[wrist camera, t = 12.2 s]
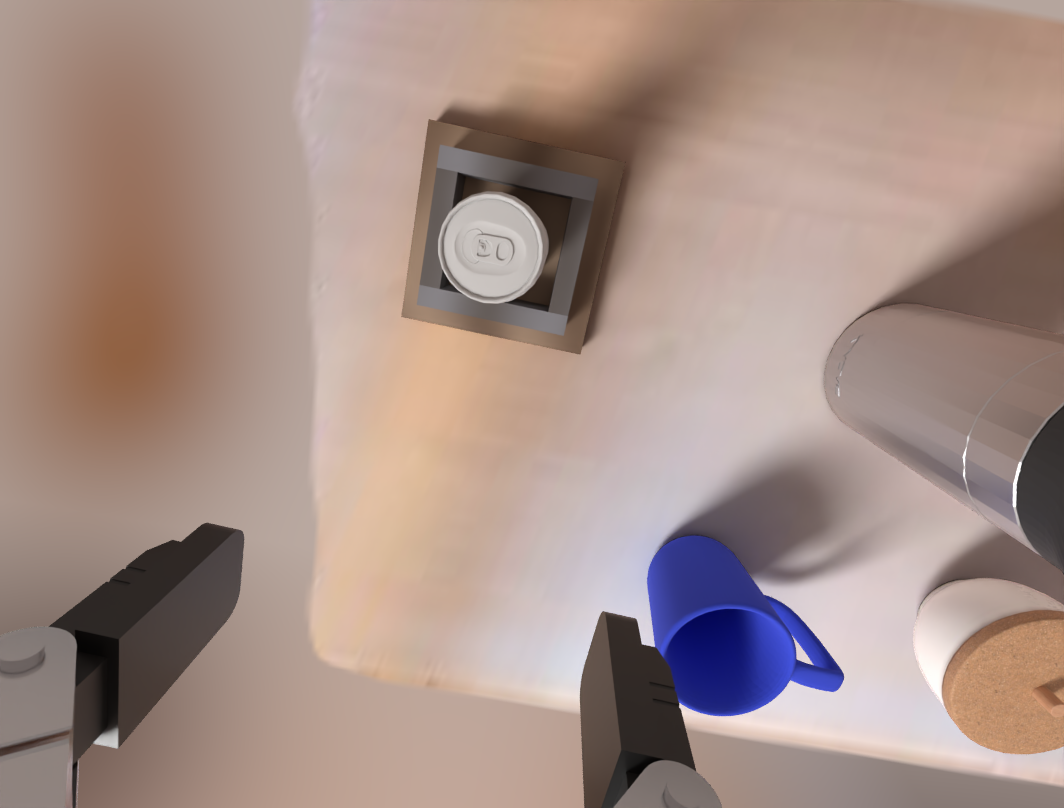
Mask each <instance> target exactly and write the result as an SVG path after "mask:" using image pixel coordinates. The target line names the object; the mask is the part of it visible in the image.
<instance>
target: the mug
mask: <svg viewBox="0 0 1064 808" xmlns="http://www.w3.org/2000/svg"><path fill="white" fill-rule="evenodd" d="M647 585H648V594H649V602H650V610H651V617H652V625H653V633H654V641H655V648H657V649H658V651H659V652H660V654H661V655H662V656H663V658H664V659H665V661H666V662H667V663H668V665H669V666H670V669H671V673H672V677H673V681H674V685H675V691H676V693H677V697H678V701H679V703H681V704H682V705H684V706H686V707H687V708H689V709H692V710H694V711H696V712H700V713H703V714H707V715H713V716H734V715H740V714H744V713H748V712H751V711H754V710H756V709H758V708H760V707H762V706H764V705H766V704H768V703H769V702H771V701H772V700H773V699H775V698H776V697H777V696H778V695H779V694H780V693H781V692H782V691H783V690H784V688H785V687H786V686H787V684H788V683H789V681H790V680H791V681H794V682H796V683H799V684H801V685H804V686H807V687H811V688H815V689H819V690H824V691H830V692H834V691H837V690H838V689H839V688H840V686H841V684H842V682H843V680H844V674H843V672H842V670H841V669H840V667H839V666H838V665H837V663H836V662H835V661H834V659H833V658H832V657H831V655H830V654H829V653H828V651H827V650H826V649H825V647H824V646H823V645H822V643H821V642H820V641H819V639H818V638H817V637H816V636H815V635H814V633H813V632H812V631H811V630H810V629H809V627H808V626H807V625H806V624H805V623H804V622H803V621H802V620H801V618H800V617H799V616H798V615H797V614H796V613H794V612H793V611H792V610H791V609H790V608H789V607H787V606H786V605H785V604H783V603H781V602H780V601H778V600H776V599H774V598H772V597H769V596H766V595H763V593H762V592H761V591H760V589H759V588H758V586H757V585H756V584H755V582H754V581H753V579H752V578H751V577H750V575H749V574H748V573H747V571H746V570H745V568H744V567H743V566H742V564H741V563H740V561H739V560H738V559H737V557H736V556H735V555H734V554H733V553H732V551H730V550H729V549H728V548H727V547H726V546H724V545H723V544H722V543H720V542H718V541H716V540H714V539H712V538H709V537H705V536H696V535H695V536H684V537H680V538H677V539H675V540H673V541H671V542H669V543H667V544H666V545H664V546H663V547H662V548H661V549H660V550H659V551H658V552H657V553H656V555H655V556H654V558H653V560H652V562H651V564H650V567H649V571H648V578H647ZM791 634H792V635H791ZM792 636H793V637H794V638H795V639H796V640H797V642H798V643H799V644H800V646H801V647H802V648H803V650H804V651H805V653H806V654H807V655H808V657H809V658H810V660H811V661H812V663H813V664H814V665H810V664H807V663H804V662H801V661H799V660H797V659H796V647H795V643H794V640H793V637H792Z"/></svg>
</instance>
